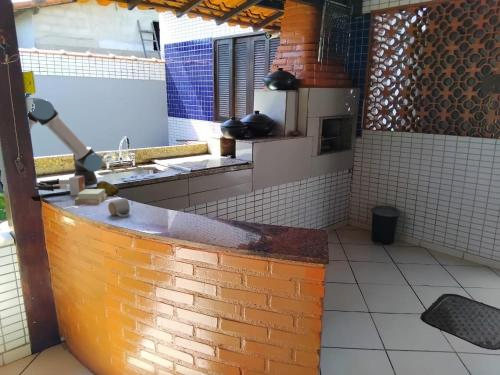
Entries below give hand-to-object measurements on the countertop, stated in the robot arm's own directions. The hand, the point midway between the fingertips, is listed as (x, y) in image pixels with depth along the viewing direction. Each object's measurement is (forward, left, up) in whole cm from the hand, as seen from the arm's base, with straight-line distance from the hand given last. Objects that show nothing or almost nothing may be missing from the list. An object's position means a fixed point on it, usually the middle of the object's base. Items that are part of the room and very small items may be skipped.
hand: (68, 184), depth 216 cm
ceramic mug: (+38, +43, -7) cm, 58 cm away
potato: (-1, +22, -7) cm, 23 cm away
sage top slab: (+12, +18, -4) cm, 22 cm away
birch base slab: (+13, +18, -7) cm, 23 cm away
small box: (-2, +4, -7) cm, 8 cm away
